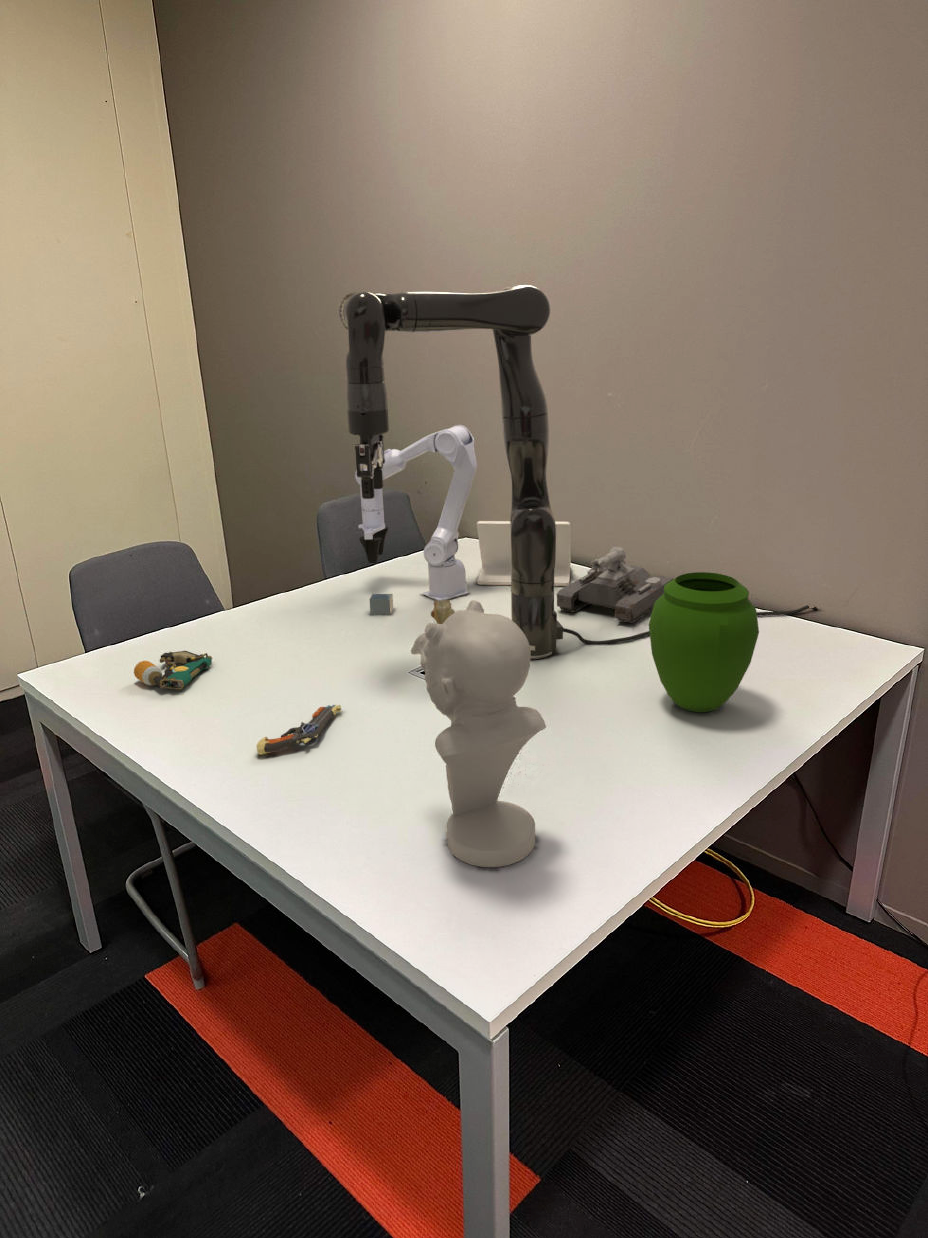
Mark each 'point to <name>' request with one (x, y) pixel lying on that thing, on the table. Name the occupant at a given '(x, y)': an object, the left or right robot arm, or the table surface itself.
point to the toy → (614, 588)
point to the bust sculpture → (481, 729)
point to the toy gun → (299, 731)
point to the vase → (702, 638)
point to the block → (381, 604)
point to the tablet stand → (498, 553)
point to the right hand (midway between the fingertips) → (373, 493)
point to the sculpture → (441, 611)
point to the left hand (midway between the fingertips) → (375, 558)
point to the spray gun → (172, 669)
